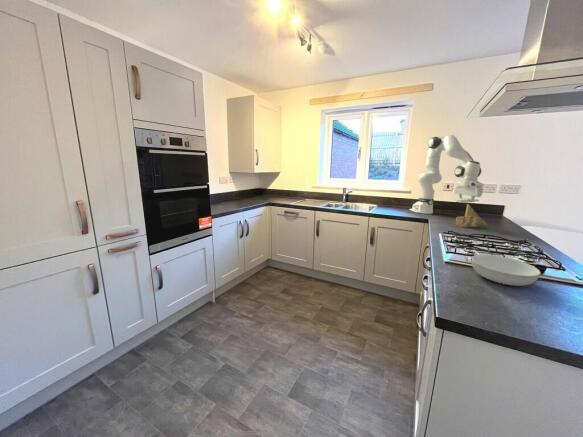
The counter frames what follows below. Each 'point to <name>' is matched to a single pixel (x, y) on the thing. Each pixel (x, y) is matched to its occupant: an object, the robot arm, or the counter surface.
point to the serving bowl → (505, 270)
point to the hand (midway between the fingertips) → (465, 200)
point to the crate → (467, 221)
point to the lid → (464, 199)
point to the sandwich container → (472, 213)
